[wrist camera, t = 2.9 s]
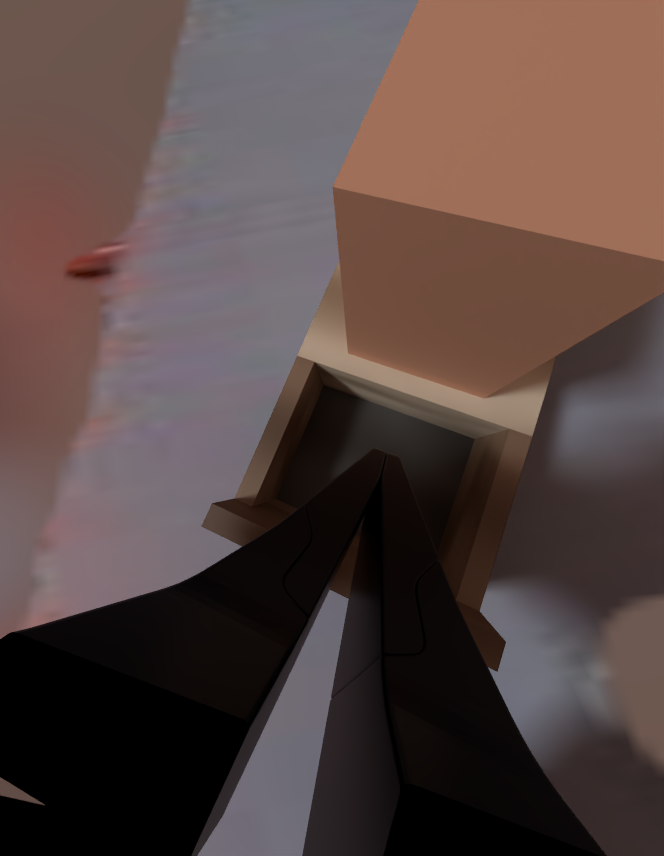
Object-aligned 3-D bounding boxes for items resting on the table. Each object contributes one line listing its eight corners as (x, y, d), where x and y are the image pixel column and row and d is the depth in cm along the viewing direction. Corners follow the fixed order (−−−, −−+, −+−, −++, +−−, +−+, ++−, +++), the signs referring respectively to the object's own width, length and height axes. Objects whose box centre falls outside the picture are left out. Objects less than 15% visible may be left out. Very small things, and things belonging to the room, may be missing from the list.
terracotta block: (483, 398, 12) (702, 269, 4) (347, 353, 13) (332, 187, 6) (525, 274, 13) (770, -16, 5) (394, 242, 14) (437, -40, 6)
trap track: (441, 591, 15) (497, 671, 9) (257, 507, 17) (201, 526, 11) (597, 111, 19) (704, -52, 13) (436, 87, 21) (466, -64, 15)
